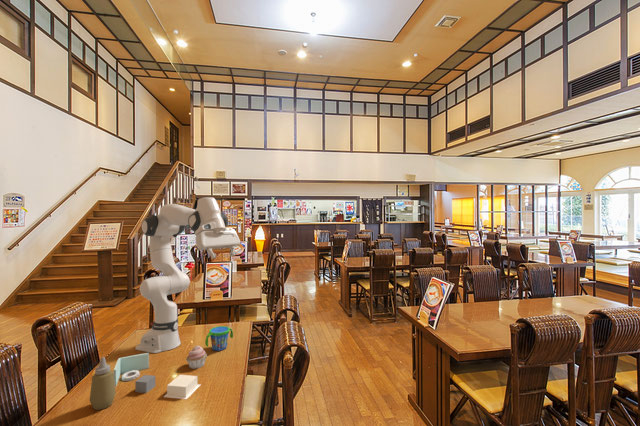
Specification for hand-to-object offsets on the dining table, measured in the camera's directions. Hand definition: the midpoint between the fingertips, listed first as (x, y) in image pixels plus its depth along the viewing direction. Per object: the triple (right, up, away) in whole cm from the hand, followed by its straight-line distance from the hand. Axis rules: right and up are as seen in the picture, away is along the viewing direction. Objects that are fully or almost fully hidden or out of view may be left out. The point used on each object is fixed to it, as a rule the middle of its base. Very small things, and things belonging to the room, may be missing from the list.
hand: (223, 256), depth 131 cm
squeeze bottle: (-40, -54, -18) cm, 69 cm away
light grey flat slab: (-15, -53, -10) cm, 56 cm away
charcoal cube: (-29, -54, -8) cm, 62 cm away
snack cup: (-12, -54, +31) cm, 63 cm away
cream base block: (-14, -53, -10) cm, 55 cm away
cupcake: (-16, -54, +11) cm, 57 cm away
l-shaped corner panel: (-42, -55, +3) cm, 69 cm away
